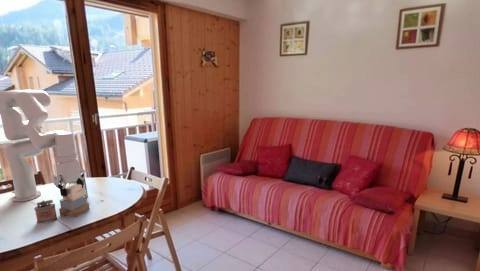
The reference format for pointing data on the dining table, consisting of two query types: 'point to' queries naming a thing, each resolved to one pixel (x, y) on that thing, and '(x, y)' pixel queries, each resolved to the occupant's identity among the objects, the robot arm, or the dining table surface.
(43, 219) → the lighter
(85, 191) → the syrup box
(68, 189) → the birch cube
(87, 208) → the walnut block
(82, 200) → the slate block
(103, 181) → the dining table surface
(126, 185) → the dining table surface
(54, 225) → the dining table surface
